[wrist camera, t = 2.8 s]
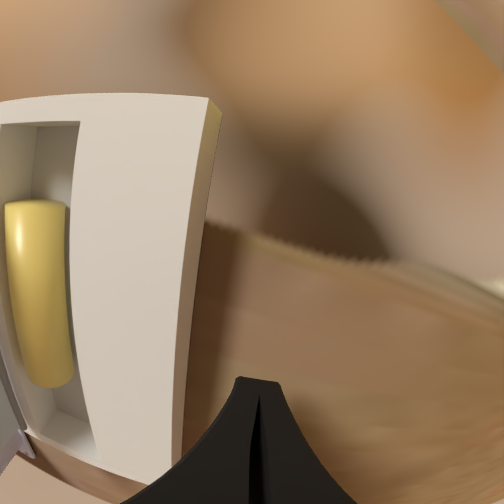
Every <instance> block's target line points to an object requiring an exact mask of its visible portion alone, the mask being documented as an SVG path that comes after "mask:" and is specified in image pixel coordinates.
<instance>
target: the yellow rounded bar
mask: <svg viewBox="0 0 504 504" xmlns="http://www.w3.org/2000/svg"><path fill="white" fill-rule="evenodd" d="M65 206H66V204H65V203H64V202H62V201H59V200H53V199H40V198H33V199H20V200H15V201H11V202H8V203H6V204H5V247H6V262H7V273H8V283H9V291H10V298H11V305H12V311H13V317H14V323H15V328H16V333H17V338H18V342H19V347H20V351H21V355H22V359H23V363H24V367H25V371H26V374H27V377H28V379H29V380H30V381H31V382H32V383H33V384H35V385H37V386H40V387H43V388H56V387H60V386H63V385H65V384H66V383H68V382H69V381H70V380H71V379H72V377H73V376H74V372H75V369H74V363H73V357H72V350H71V343H70V335H69V326H68V316H67V304H66V289H65V263H64V233H65Z"/></svg>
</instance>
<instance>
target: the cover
mask: <svg viewBox="0 0 504 504" xmlns="http://www.w3.org/2000/svg"><path fill="white" fill-rule="evenodd" d="M19 428H20V429H21V430H22V431H25V430H27V428H28V427H27V424H26V422H25V420H24V417H23V415H22V412H21V410H20V407H19V405H18V402H17V399H16V397H15V394H14V391H13V388H12V385H11V382H10V379H9V376H8V373H7V370H6V367H5V363H4V360H3V356H2V353H1V349H0V452H1V451H2V450H3V448H4V447H5V446H6V445H7V443H8V442H9V441H10V439H11V438H12V437H13V436H14V434H15V433H16V432H17V431H18V429H19Z"/></svg>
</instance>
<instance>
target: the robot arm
mask: <svg viewBox="0 0 504 504" xmlns="http://www.w3.org/2000/svg"><path fill="white" fill-rule="evenodd" d="M18 450H19V451H20V452H22V453H24V454H25V455H27V456H29V457H30V458H32V459H35V457H36V456H35V454H34V452H33V450H32V448H31V446H30V444H29V442H28V440H27V438H26V436H25V433H24V431H22V430H21V429H20V428H19V429H18V431H17V432H16V433H15V434H14V436H13V437H12V438H11V439H10V441H9V442H8V443H7V445H6V446H5V447H4V448H3V450H2V451H1V452H0V475H1V474H2V472H3V471H4V469H5V468H6V467H7V465H8V464H9V462H10V461H11V460H12V458H13V457H14V456H15V454H16V453H17V451H18ZM120 504H357V503H356V502H355V501H354V500H353V499H352V498H351V497H350V496H349V495H348V494H347V493H346V492H345V491H344V490H343V489H342V488H341V487H340V486H339V485H338V484H337V483H336V481H335V480H334V479H333V478H332V477H331V476H330V474H329V473H328V472H327V471H326V469H325V468H324V467H323V465H322V464H321V463H320V461H319V460H318V458H317V457H316V455H315V454H314V452H313V451H312V449H311V448H310V446H309V445H308V443H307V441H306V440H305V438H304V436H303V434H302V433H301V431H300V429H299V427H298V425H297V423H296V421H295V419H294V417H293V415H292V413H291V411H290V409H289V406H288V404H287V402H286V399H285V397H284V394H283V392H282V389H281V386H280V384H279V383H278V382H273V381H266V380H260V379H253V378H247V377H242V376H239V377H237V378H236V380H235V384H234V387H233V389H232V392H231V394H230V396H229V398H228V399H227V401H226V403H225V405H224V406H223V408H222V410H221V411H220V413H219V414H218V416H217V417H216V419H215V420H214V422H213V423H212V424H211V426H210V427H209V428H208V429H207V431H206V432H205V433H204V435H203V436H202V437H201V438H200V439H199V441H198V442H197V443H196V444H195V445H194V446H193V447H192V448H191V449H190V450H189V451H188V452H187V453H186V455H185V456H184V457H183V458H181V459H180V460H179V461H178V462H177V463H176V464H175V465H174V466H173V467H172V468H170V469H169V470H168V471H167V472H166V473H165V474H163V475H162V476H161V477H160V478H158V479H157V480H156V481H154V482H153V483H151V484H150V485H149V486H147V487H146V488H144V489H143V490H141V491H140V492H138V493H137V494H136V495H134V496H132V497H131V498H129V499H127V500H126V501H124V502H122V503H120Z"/></svg>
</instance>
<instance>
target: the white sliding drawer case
mask: <svg viewBox="0 0 504 504" xmlns="http://www.w3.org/2000/svg"><path fill="white" fill-rule="evenodd" d="M221 120H222V113H221V112H220V111H219V109H218V108H217V107H216V106H215V105H214V104H213V102H212V101H211V100H210V99H209V98H204V97H194V96H182V95H167V94H146V93H90V94H68V95H55V96H43V97H35V98H25V99H18V100H11V101H5V102H0V349H1V353H2V356H3V360H4V363H5V367H6V370H7V373H8V376H9V379H10V382H11V385H12V388H13V391H14V394H15V397H16V399H17V402H18V405H19V407H20V410H21V412H22V415H23V417H24V420H25V422H26V424H27V427H28V428H27V430H25V431H24V432H26V433H28V434H30V435H31V436H33V437H35V438H37V439H39V440H40V441H42V442H44V443H46V444H48V445H50V446H52V447H54V448H56V449H58V450H60V451H62V452H64V453H66V454H68V455H71V456H73V457H75V458H77V459H79V460H82V461H84V462H86V463H89V464H91V465H94V466H96V467H99V468H101V469H104V470H106V471H109V472H112V473H114V474H117V475H120V476H123V477H126V478H129V479H132V480H135V481H138V482H141V483H145V484H148V485H150V484H151V483H153V482H154V481H156V480H157V479H158V478H160V477H161V476H162V475H163V474H165V473H166V472H167V471H168V470H169V469H170V468H172V467H173V466H174V465H175V464H176V463H177V462H178V461H179V460H180V459H181V453H182V434H183V417H184V402H185V389H186V377H187V365H188V354H189V343H190V333H191V324H192V315H193V306H194V297H195V288H196V280H197V272H198V264H199V257H200V249H201V242H202V235H203V228H204V221H205V214H206V207H207V201H208V195H209V188H210V183H211V176H212V170H213V164H214V159H215V153H216V147H217V141H218V136H219V131H220V125H221ZM33 198H40V199H53V200H59V201H62V202H64V203H65V204H66V206H65V233H64V263H65V289H66V304H67V316H68V326H69V335H70V343H71V350H72V357H73V363H74V369H75V372H74V376H73V377H72V379H71V380H70V381H69V382H68V383H66V384H65V385H63V386H60V387H56V388H43V387H40V386H37V385H35V384H33V383H32V382H31V381H30V380H29V379H28V377H27V374H26V371H25V367H24V363H23V359H22V355H21V351H20V347H19V342H18V338H17V333H16V328H15V323H14V317H13V311H12V305H11V298H10V291H9V283H8V273H7V262H6V247H5V204H6V203H8V202H11V201H15V200H20V199H33Z"/></svg>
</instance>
